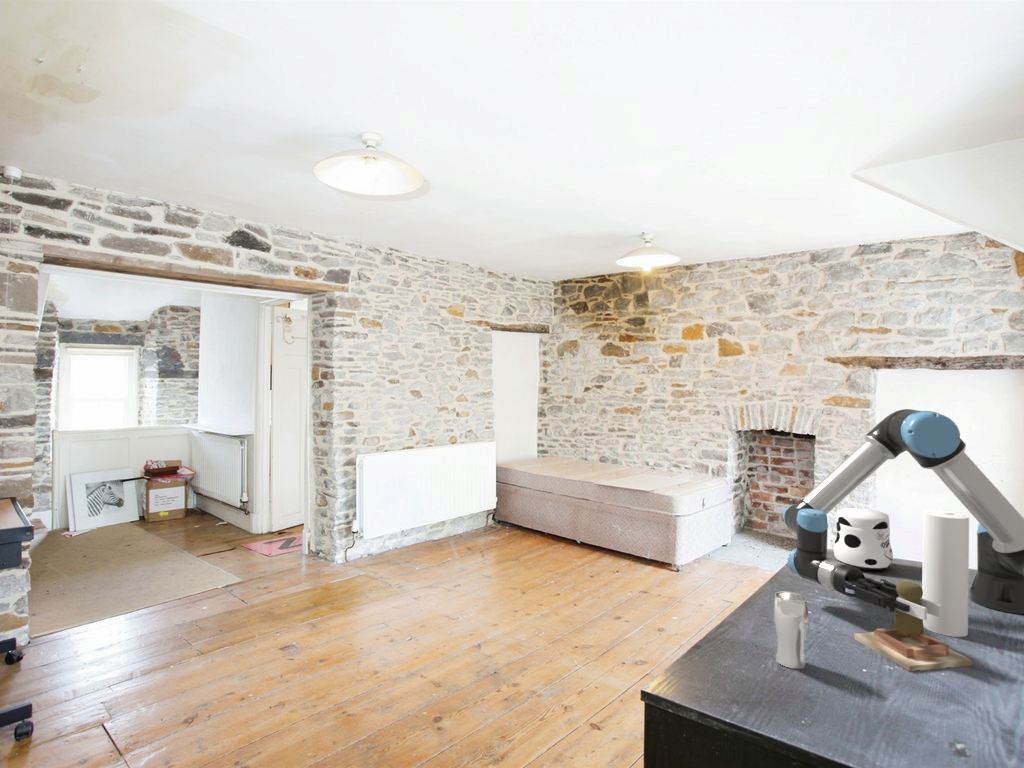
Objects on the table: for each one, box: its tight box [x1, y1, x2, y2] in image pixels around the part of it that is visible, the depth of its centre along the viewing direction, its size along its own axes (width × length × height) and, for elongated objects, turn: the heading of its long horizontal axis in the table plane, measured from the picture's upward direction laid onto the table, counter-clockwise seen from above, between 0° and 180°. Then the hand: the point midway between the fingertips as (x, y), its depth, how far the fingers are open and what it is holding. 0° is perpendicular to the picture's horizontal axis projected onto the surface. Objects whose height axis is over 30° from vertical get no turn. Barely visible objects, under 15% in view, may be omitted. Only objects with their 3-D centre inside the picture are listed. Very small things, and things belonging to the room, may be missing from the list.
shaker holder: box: [853, 626, 973, 672], centre depth 133 cm, size 16×16×3 cm
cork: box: [893, 580, 925, 635], centre depth 133 cm, size 6×6×11 cm
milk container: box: [833, 507, 894, 571], centre depth 194 cm, size 17×17×18 cm
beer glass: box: [773, 590, 809, 670], centre depth 128 cm, size 7×7×15 cm
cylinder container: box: [921, 509, 970, 638], centre depth 145 cm, size 9×9×30 cm
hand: (932, 612), depth 128 cm, fingers closed on cork, 4 cm apart
